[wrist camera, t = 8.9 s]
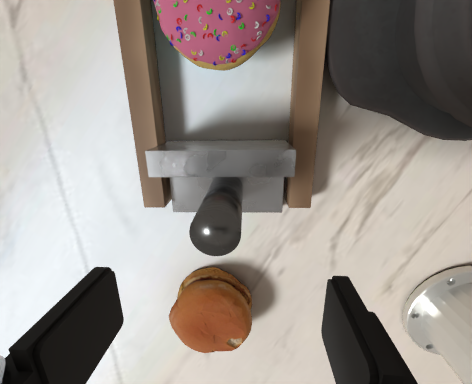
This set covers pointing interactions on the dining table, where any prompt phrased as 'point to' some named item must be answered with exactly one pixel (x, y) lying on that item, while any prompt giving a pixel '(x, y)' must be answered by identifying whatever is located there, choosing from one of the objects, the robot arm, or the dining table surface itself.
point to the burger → (212, 311)
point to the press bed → (150, 106)
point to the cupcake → (217, 29)
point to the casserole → (405, 61)
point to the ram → (222, 184)
